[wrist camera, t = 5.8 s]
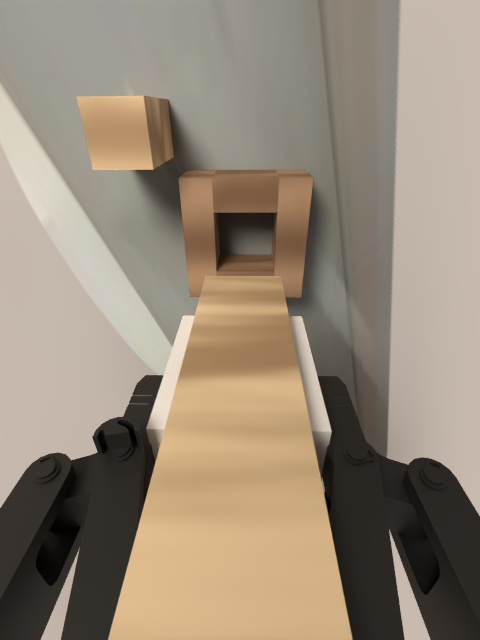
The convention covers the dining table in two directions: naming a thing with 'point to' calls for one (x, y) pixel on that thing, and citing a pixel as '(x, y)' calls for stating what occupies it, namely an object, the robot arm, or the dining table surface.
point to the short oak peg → (126, 131)
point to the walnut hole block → (246, 197)
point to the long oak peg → (235, 490)
